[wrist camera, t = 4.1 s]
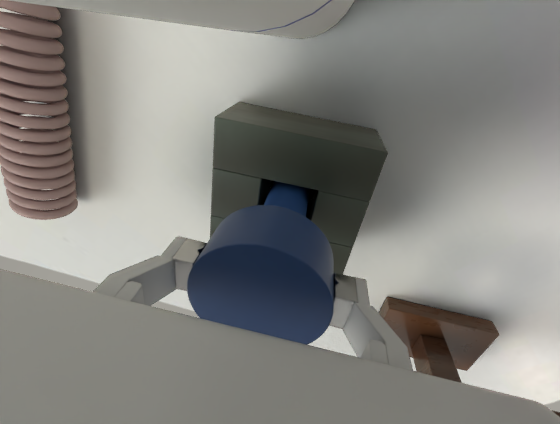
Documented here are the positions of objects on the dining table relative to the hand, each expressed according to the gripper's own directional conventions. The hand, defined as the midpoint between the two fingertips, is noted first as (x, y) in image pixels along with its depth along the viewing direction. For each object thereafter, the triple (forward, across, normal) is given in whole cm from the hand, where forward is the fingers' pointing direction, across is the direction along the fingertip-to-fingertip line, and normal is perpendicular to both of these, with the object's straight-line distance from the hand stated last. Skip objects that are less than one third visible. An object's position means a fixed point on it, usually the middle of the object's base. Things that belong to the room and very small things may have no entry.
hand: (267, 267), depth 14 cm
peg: (+11, 0, 0) cm, 11 cm away
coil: (+11, +20, -2) cm, 23 cm away
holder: (+11, 0, 0) cm, 11 cm away
